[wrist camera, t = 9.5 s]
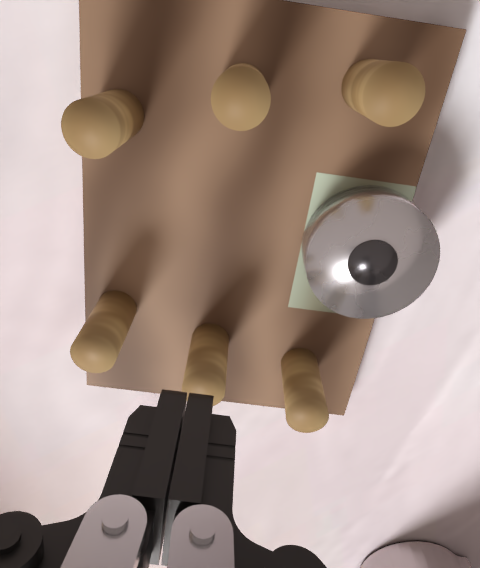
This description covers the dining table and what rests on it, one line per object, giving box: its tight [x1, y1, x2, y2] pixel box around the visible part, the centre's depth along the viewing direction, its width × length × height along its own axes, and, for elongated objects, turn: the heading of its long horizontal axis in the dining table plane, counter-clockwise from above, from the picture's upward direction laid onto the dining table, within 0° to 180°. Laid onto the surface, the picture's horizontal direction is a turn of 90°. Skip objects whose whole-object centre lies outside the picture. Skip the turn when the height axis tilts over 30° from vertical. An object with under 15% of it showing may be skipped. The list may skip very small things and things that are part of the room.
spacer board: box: [61, 0, 466, 433], centre depth 25 cm, size 18×24×6 cm
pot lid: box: [301, 185, 440, 319], centre depth 25 cm, size 7×7×2 cm
